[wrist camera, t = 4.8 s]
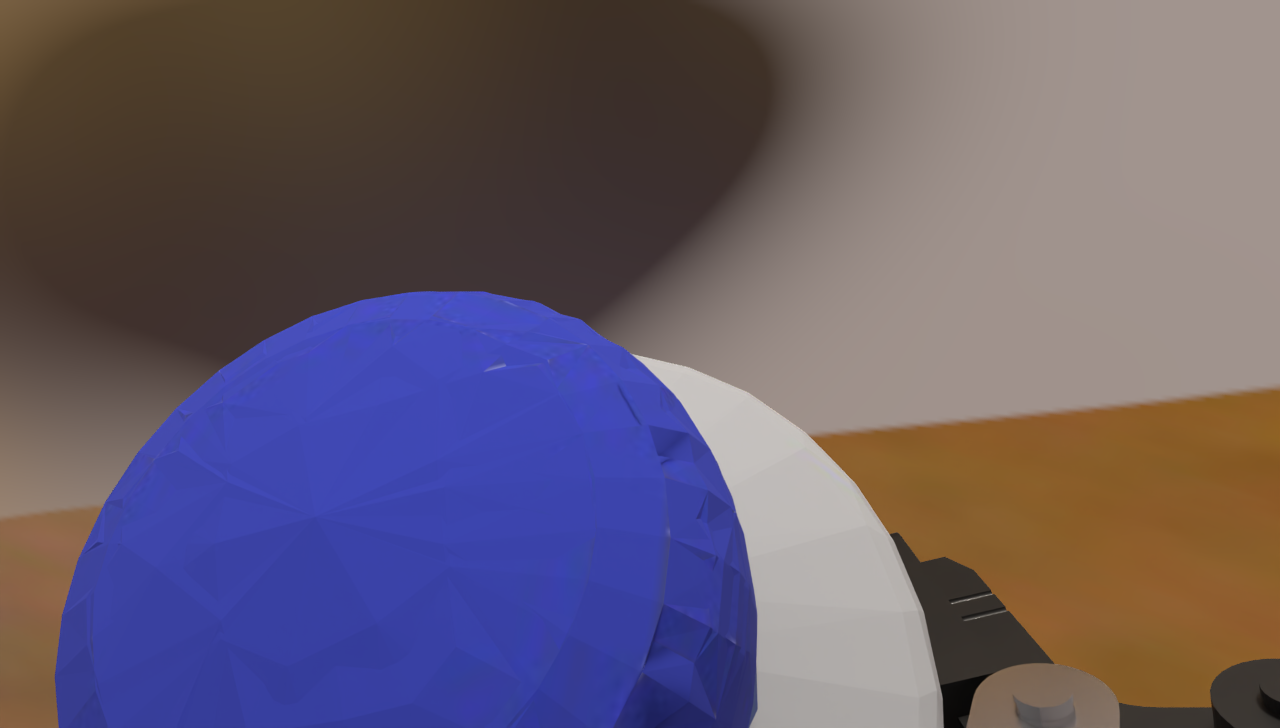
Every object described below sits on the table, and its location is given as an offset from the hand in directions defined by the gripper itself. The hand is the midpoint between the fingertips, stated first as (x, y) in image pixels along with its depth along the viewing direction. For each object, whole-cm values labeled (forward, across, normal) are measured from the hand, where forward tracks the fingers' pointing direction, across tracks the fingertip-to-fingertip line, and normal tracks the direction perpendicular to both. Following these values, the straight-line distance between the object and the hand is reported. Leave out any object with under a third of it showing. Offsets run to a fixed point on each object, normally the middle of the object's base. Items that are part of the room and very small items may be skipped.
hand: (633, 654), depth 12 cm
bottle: (+6, 0, +9) cm, 11 cm away
